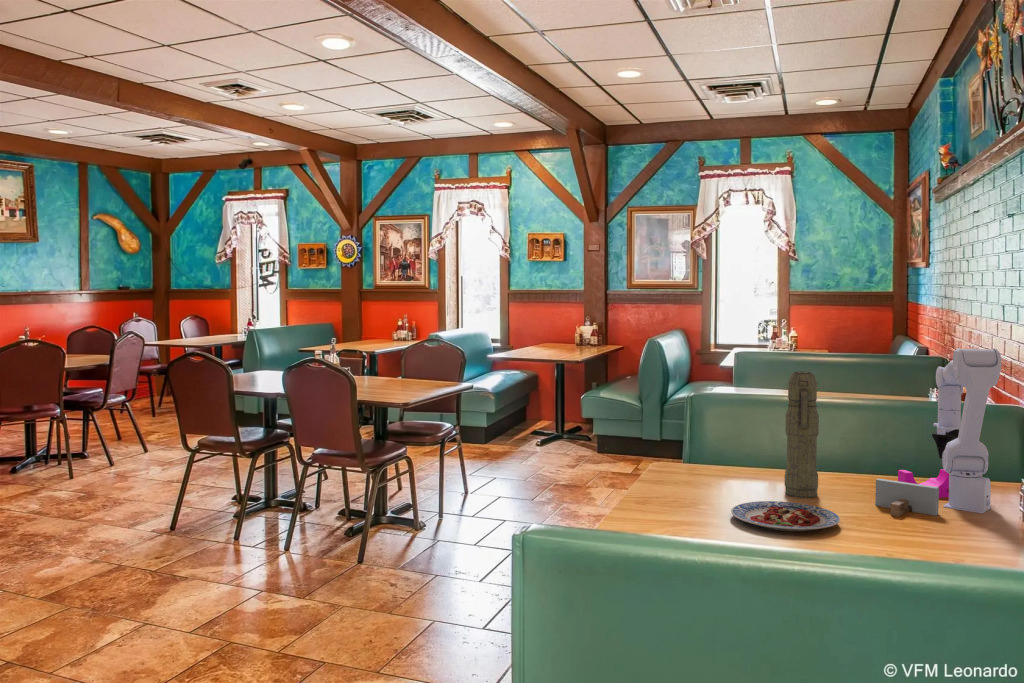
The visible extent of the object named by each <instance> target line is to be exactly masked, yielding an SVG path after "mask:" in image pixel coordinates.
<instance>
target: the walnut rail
mask: <svg viewBox="0 0 1024 683" xmlns="http://www.w3.org/2000/svg"><path fill="white" fill-rule="evenodd" d="M910 511H912V506H909V505H908V500H903V499H899V500H897V501H895V502H893V503H891V508H890V516H892V517H901V516H902V515H904V514H907V513H908V512H910Z"/></svg>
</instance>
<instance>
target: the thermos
mask: <svg viewBox="0 0 1024 683" xmlns="http://www.w3.org/2000/svg"><path fill="white" fill-rule="evenodd" d="M787 384H788V385H787V386H788V389H787V390H788V391H787V400H788V404H787V410H786V412H785V434H786V468H785V471H784V488H785V489H784V490H785V492H784V494H785V495H786V496H788V497H791V498H796V499H797V498H798V499H815V498H817V497H818V489H819V474H818V470H817V455H818V454H817V452H818V451H817V447H818V446H817V445H818V444H817V443H818V442H817V440H818V436H819V431H820V430H819V428H820V426H819V423H820V422H819V421H820V415H819V413H818V412H819V411H818V409H817V408H818V407H817V406H818V405H817V400H818V381H817V379H816V376H815V374H814V373H812V372H811V371H793V372H792V373H791V374H790V376H789V380H788V382H787Z"/></svg>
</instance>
